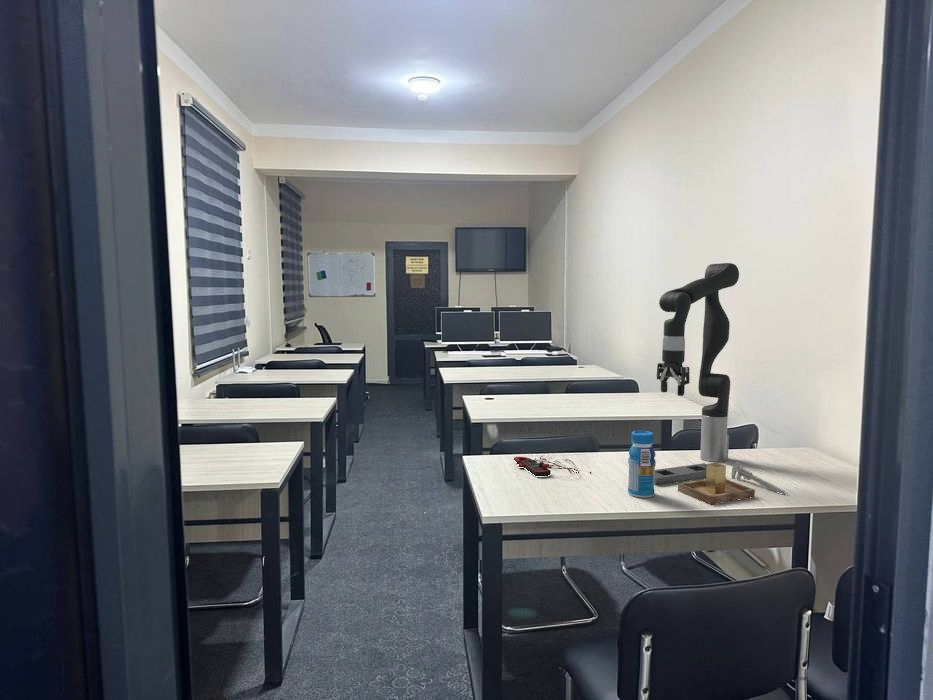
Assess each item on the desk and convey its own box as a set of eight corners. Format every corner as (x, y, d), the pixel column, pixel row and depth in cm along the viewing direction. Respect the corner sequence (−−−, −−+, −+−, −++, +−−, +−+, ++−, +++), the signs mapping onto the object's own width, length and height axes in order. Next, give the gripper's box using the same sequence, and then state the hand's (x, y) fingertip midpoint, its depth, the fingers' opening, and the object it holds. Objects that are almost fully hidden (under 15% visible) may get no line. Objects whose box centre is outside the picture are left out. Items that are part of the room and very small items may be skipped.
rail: (703, 469, 218) (704, 463, 218) (720, 476, 210) (720, 469, 210) (640, 478, 208) (640, 471, 207) (655, 485, 200) (656, 478, 200)
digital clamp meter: (536, 470, 205) (509, 451, 228) (536, 483, 205) (509, 463, 229) (597, 463, 212) (564, 446, 236) (597, 476, 212) (564, 457, 236)
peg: (715, 488, 194) (716, 462, 193) (724, 492, 191) (725, 465, 190) (705, 489, 193) (706, 463, 192) (715, 493, 189) (716, 467, 188)
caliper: (731, 479, 208) (731, 461, 208) (733, 478, 209) (734, 460, 208) (785, 496, 190) (786, 477, 190) (788, 496, 191) (789, 476, 190)
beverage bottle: (622, 494, 191) (624, 433, 189) (634, 488, 198) (635, 428, 196) (648, 500, 186) (649, 437, 184) (659, 493, 192) (660, 432, 190)
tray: (720, 484, 201) (720, 477, 201) (754, 497, 188) (754, 489, 188) (677, 490, 195) (678, 483, 195) (710, 505, 182) (710, 496, 182)
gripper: (696, 350, 208) (694, 396, 209) (668, 346, 221) (667, 390, 222) (679, 350, 205) (677, 397, 207) (651, 347, 218) (650, 391, 220)
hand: (672, 393), depth 214 cm, fingers open, 8 cm apart
